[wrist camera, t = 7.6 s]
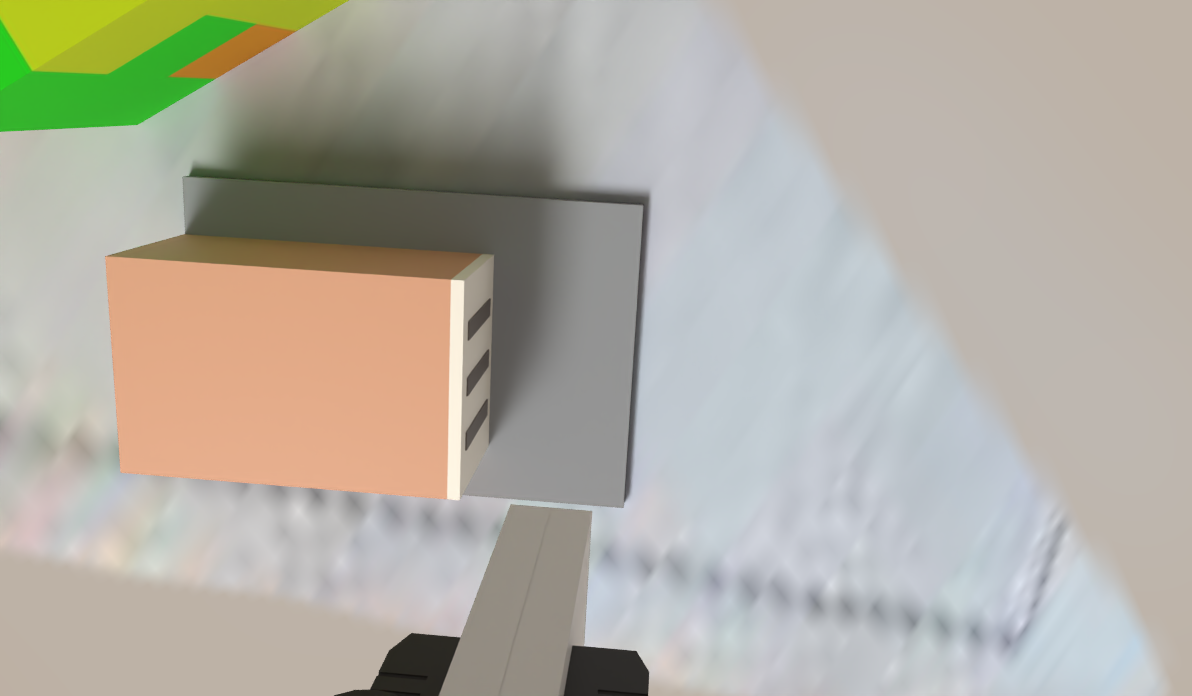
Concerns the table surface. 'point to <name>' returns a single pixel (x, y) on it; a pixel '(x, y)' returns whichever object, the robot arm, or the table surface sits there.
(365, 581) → the table surface
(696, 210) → the table surface
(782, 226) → the table surface
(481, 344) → the block
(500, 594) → the robot arm
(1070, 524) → the table surface
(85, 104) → the puzzle toy
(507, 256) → the mat
